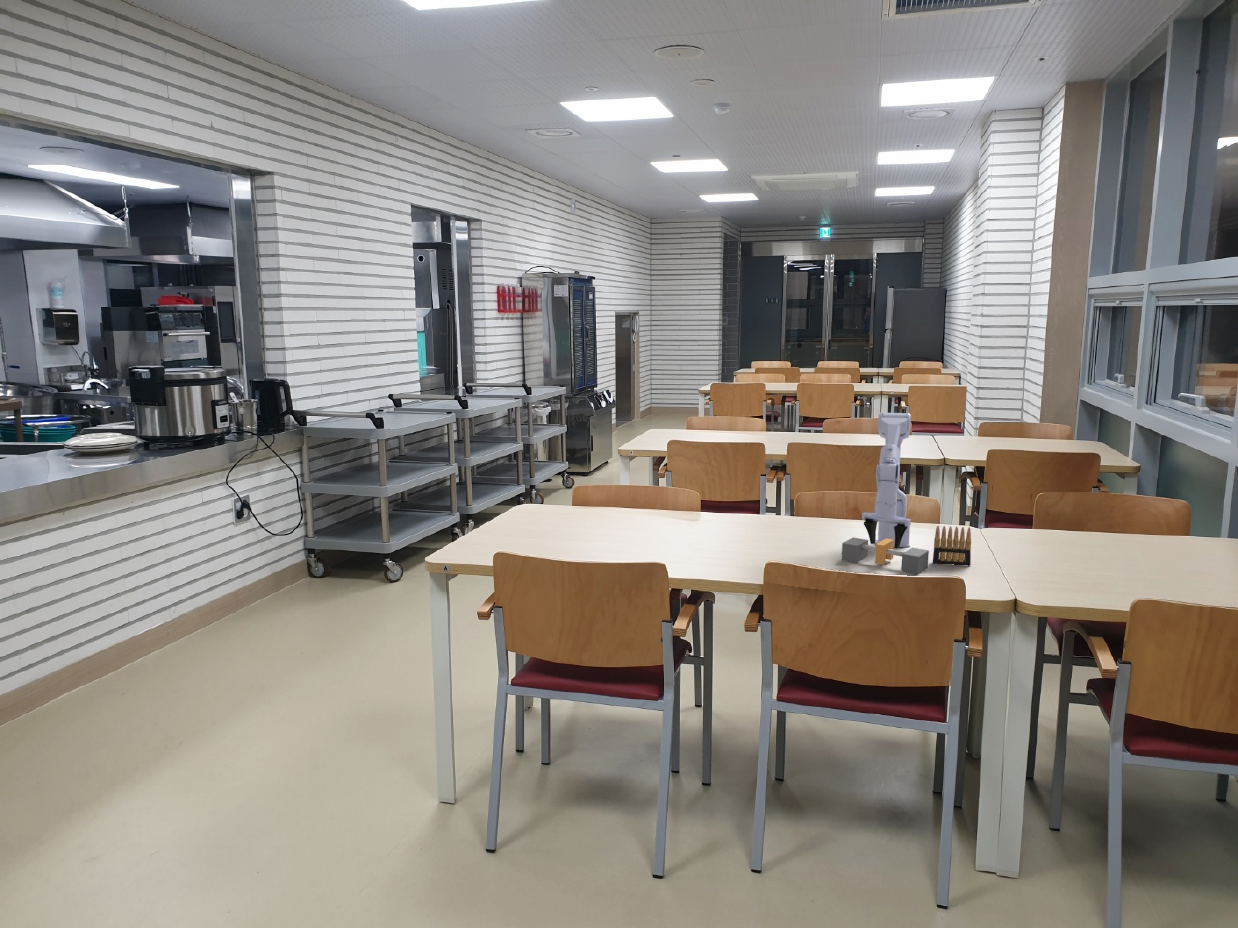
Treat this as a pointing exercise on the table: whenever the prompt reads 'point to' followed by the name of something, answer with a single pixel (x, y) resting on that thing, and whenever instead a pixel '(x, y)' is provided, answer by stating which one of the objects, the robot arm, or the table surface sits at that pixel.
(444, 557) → the table surface
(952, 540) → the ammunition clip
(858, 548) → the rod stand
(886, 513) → the robot arm
